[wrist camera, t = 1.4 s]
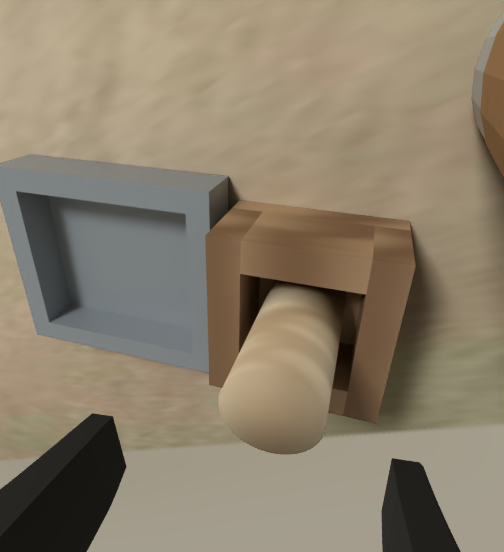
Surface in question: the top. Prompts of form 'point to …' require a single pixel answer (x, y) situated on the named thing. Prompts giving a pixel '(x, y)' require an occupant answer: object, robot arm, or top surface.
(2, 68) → the top surface
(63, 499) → the robot arm
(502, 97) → the coffee cup
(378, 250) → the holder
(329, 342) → the dowel
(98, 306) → the tray
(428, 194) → the top surface
